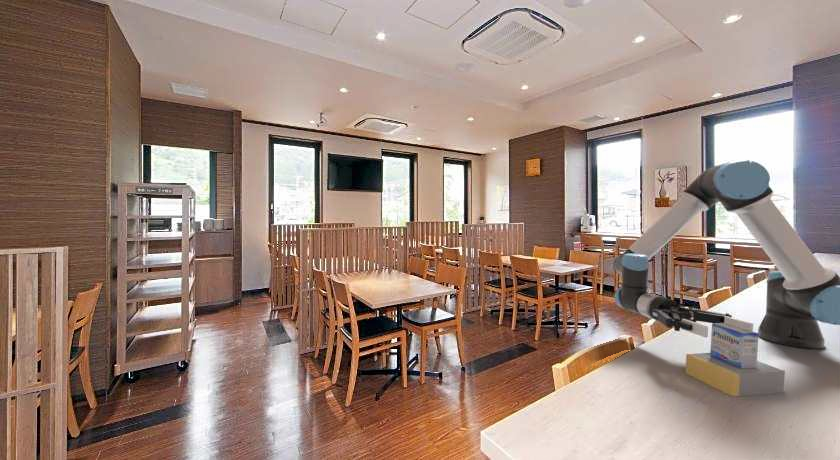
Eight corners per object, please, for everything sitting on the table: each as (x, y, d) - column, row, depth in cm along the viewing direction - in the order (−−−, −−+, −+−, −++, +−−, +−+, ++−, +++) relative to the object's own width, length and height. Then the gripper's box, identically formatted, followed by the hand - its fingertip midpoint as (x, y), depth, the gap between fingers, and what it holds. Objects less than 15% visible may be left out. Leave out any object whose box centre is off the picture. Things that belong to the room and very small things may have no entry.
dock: (731, 369, 94) (731, 351, 93) (783, 392, 82) (784, 371, 82) (685, 372, 92) (686, 354, 91) (732, 396, 80) (733, 375, 79)
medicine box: (709, 356, 90) (710, 323, 90) (724, 355, 91) (725, 322, 90) (741, 369, 82) (743, 333, 82) (757, 368, 83) (759, 332, 83)
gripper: (692, 318, 110) (769, 342, 90) (622, 321, 106) (686, 348, 85) (692, 294, 110) (770, 313, 89) (622, 297, 106) (687, 317, 85)
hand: (729, 330), depth 87 cm, fingers open, 13 cm apart
